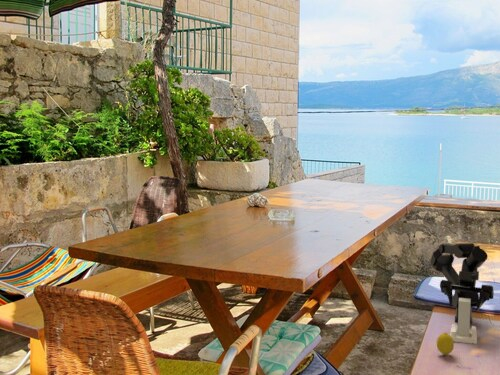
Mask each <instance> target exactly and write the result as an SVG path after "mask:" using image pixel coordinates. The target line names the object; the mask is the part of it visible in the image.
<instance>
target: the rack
mask: <svg viewBox="0 0 500 375" xmlns="http://www.w3.org/2000/svg"><path fill="white" fill-rule="evenodd" d="M450 336H451V337H452V338H453V342H455V343H464V344H472V343H474V345H477V344H478V333H477V326H475V325H472V326H471V330H470V333H469V337H467V336H459V335H458V328H457V324H456V323H452V324H451V328H450Z"/></svg>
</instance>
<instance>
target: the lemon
mask: <svg viewBox="0 0 500 375" xmlns="http://www.w3.org/2000/svg"><path fill="white" fill-rule="evenodd" d="M454 346H455V344H454V341H453V338H452V337H451V334H449V333H447V332H444V333H441V334H439V335H438V337H437V341H436V348H437V350H438V352H439V353H441V354H442V355H443V356H447V355H448V354H451V353H452V351H454Z"/></svg>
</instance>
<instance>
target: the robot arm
mask: <svg viewBox="0 0 500 375" xmlns="http://www.w3.org/2000/svg"><path fill="white" fill-rule="evenodd" d="M480 247H481V246H480V245H475V244H474V243H473V242H465V243H464V242H462V243H461V242H460V243H454V244H453V243H451V242H450V243H440V244H439V245H438V248H437V249H436V250H435V251H434V252H433V253H432V255H431V258H430V265H431V267H432V268H433V269H434V270H435V271H436V272H439V273H441V274H442V275H443V276H444V278H445V279H442V280H440V282H439V287H440V292H441V293H443V294H444V295H445V296H447V298H448V302H449V308H450V309H452V307H453V306H454V308H456V310H455V316H454V323H458V307H459V298H468V299H471V304H470V325H471V324H472V325H473V317H472V308H476V310H475V311H476V312H477V313H478V312H479V311H480V308H481V307H482V306H483V305H484V303H486V301H490V299H491V300H493V299H494V295H495V292H494V286H492V285H489V284H481V287H477V286H476V284H477V281H479V280H480V270H479V268H481V266H483V264H484V263H485V262H486V261H487V259H488V253H487V252H486V251H485V250H484V249H482V248H480ZM455 257H456V258H457V259H463V260H462V264H461V270H460V271H458V272H457V271H456V269H455V268H454V267H453V263H454V261H455ZM453 291H454V294H453Z"/></svg>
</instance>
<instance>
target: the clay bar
mask: <svg viewBox="0 0 500 375" xmlns="http://www.w3.org/2000/svg"><path fill="white" fill-rule="evenodd" d="M470 304H471V299H468V298H459V307H458V322H457V329H458V335H459V336H467V337H469V333H470V331H471V329H470V328H471V324H470Z"/></svg>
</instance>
